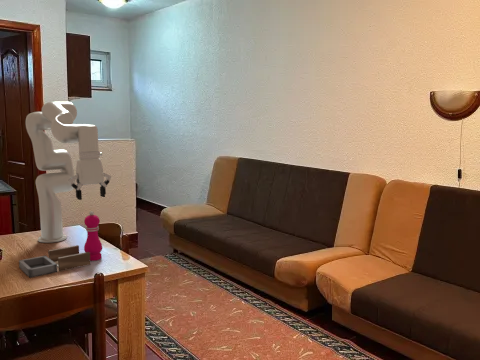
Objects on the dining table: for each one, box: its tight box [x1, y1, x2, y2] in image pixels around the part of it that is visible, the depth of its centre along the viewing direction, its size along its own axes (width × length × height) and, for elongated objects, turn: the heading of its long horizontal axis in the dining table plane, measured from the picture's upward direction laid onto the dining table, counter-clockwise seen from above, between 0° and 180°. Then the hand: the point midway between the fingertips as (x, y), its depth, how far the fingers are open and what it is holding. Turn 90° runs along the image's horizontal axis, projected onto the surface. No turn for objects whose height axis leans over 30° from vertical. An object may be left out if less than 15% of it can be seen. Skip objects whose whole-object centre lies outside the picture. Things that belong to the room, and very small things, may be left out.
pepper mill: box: [83, 211, 103, 262], centre depth 190 cm, size 7×7×20 cm
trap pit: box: [18, 255, 58, 279], centre depth 177 cm, size 14×10×3 cm
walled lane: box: [47, 244, 91, 272], centre depth 185 cm, size 13×12×5 cm
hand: (91, 198), depth 187 cm, fingers open, 9 cm apart
